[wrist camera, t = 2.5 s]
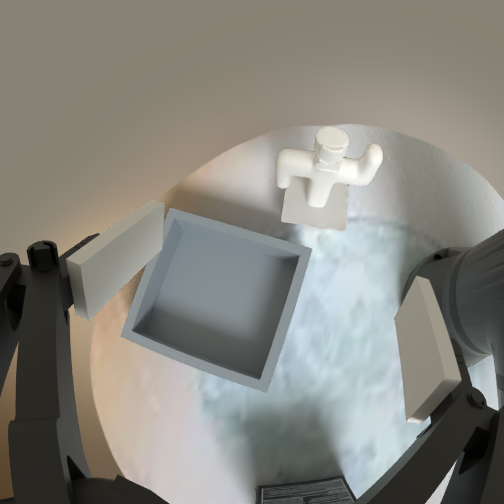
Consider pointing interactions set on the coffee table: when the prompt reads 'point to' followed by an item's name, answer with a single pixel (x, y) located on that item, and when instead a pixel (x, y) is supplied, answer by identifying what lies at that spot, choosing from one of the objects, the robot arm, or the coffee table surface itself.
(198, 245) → the tray
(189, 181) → the coffee table surface
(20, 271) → the robot arm
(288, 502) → the small box
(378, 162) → the figurine
